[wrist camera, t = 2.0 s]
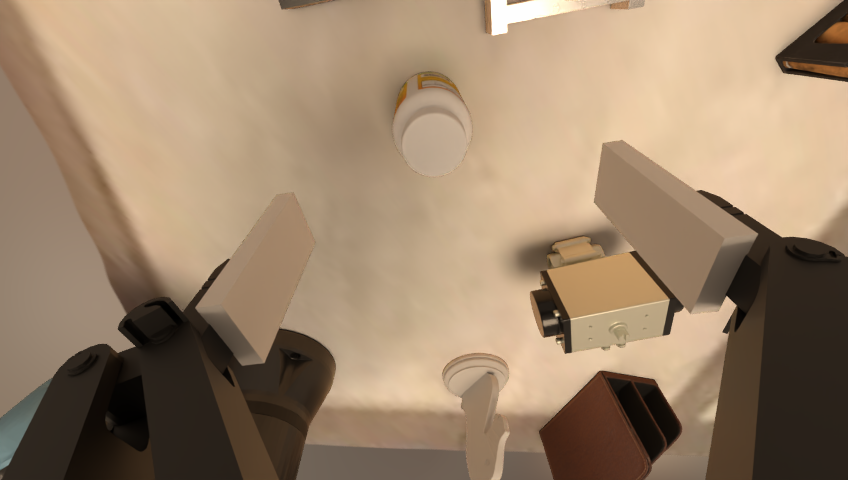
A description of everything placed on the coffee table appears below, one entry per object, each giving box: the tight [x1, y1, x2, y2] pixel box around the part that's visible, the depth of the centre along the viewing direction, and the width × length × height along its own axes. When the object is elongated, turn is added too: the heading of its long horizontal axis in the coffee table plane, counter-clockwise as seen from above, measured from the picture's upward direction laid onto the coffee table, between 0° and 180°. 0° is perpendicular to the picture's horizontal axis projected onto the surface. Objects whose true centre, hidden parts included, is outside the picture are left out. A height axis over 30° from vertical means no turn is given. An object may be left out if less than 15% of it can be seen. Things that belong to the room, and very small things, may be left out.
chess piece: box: [443, 353, 510, 480], centre depth 44 cm, size 10×10×15 cm
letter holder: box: [539, 371, 682, 480], centre depth 51 cm, size 10×20×14 cm, turn 164°
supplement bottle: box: [393, 72, 472, 177], centre depth 24 cm, size 5×5×10 cm
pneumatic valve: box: [530, 236, 684, 354], centre depth 32 cm, size 6×12×12 cm, turn 106°
